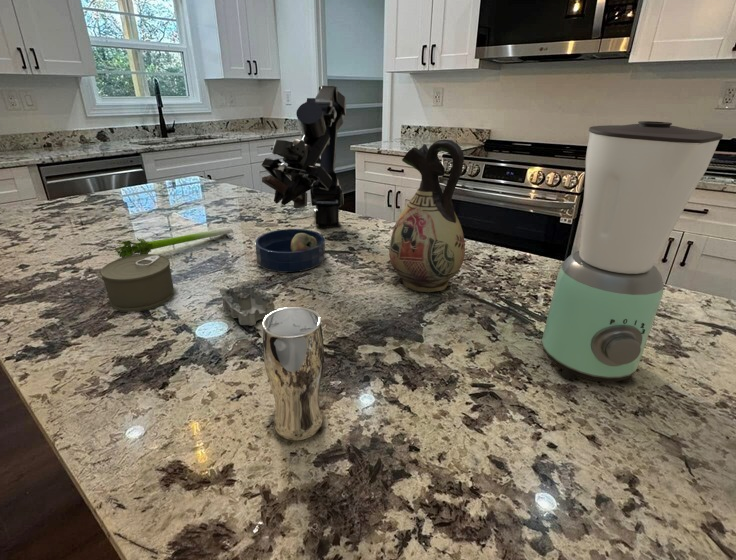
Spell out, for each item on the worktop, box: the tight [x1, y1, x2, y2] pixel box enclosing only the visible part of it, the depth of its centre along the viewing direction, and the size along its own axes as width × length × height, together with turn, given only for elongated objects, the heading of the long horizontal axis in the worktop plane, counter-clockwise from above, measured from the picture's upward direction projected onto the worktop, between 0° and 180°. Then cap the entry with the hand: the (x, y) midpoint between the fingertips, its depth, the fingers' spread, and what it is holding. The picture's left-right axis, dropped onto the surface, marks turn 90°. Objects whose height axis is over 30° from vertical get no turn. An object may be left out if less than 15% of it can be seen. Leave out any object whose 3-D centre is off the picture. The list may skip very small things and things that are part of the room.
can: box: [100, 253, 175, 313], centre depth 81 cm, size 12×12×7 cm
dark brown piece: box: [261, 174, 308, 210], centre depth 96 cm, size 3×3×13 cm
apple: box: [291, 233, 317, 252], centre depth 97 cm, size 6×8×6 cm
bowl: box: [254, 228, 326, 273], centre depth 100 cm, size 16×16×5 cm
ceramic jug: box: [388, 139, 466, 293], centre depth 82 cm, size 17×15×30 cm
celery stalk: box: [112, 226, 234, 258], centre depth 106 cm, size 6×7×30 cm
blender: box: [541, 120, 724, 384], centre depth 58 cm, size 19×13×35 cm
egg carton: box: [219, 283, 277, 327], centre depth 77 cm, size 11×8×4 cm
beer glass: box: [261, 306, 325, 441], centre depth 50 cm, size 7×7×15 cm
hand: (278, 203), depth 96 cm, fingers closed on dark brown piece, 2 cm apart
